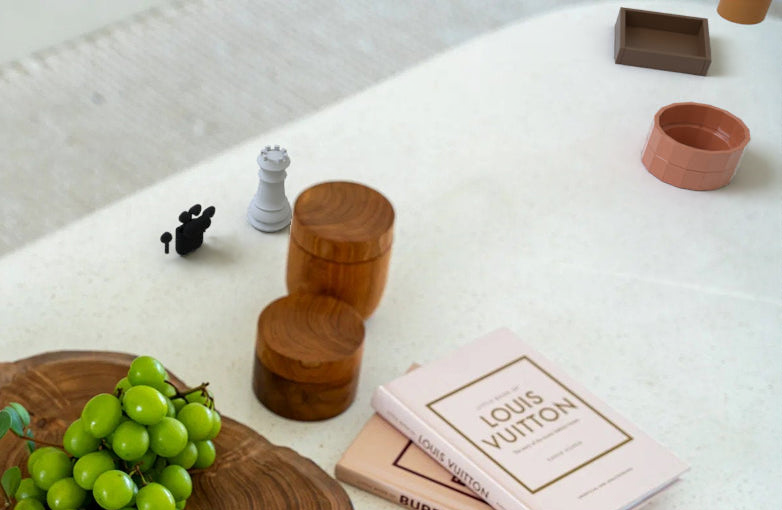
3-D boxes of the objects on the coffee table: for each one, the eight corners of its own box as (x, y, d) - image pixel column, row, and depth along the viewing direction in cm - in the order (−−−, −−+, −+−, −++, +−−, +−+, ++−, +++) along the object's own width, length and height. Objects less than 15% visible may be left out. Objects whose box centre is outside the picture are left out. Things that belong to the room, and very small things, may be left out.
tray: (700, 37, 140) (708, 18, 138) (704, 80, 133) (711, 60, 131) (614, 25, 142) (620, 6, 140) (613, 67, 135) (619, 47, 133)
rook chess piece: (240, 211, 115) (244, 143, 110) (281, 203, 116) (287, 135, 110) (255, 237, 112) (260, 169, 107) (297, 229, 113) (305, 161, 108)
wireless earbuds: (209, 231, 113) (210, 189, 109) (227, 243, 112) (229, 201, 108) (157, 262, 110) (156, 219, 106) (174, 274, 109) (175, 232, 105)
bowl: (730, 150, 123) (747, 109, 120) (735, 201, 117) (753, 159, 114) (639, 136, 125) (653, 96, 121) (639, 185, 119) (654, 144, 115)
